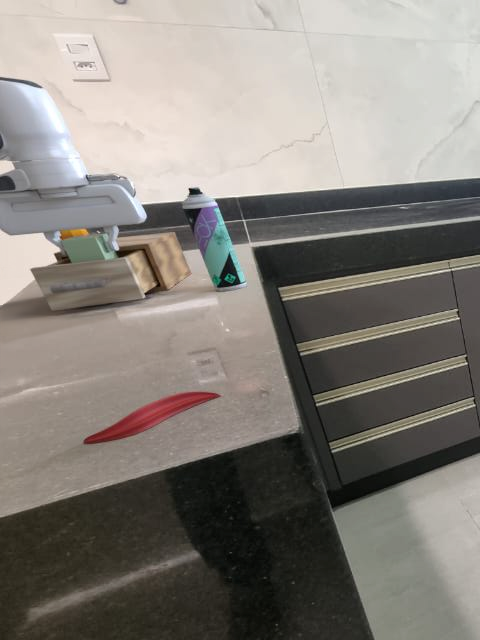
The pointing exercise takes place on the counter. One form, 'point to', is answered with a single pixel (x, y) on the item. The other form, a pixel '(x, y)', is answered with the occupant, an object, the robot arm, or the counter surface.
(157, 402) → the cayenne pepper
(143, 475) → the counter surface
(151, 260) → the cabinet
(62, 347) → the counter surface
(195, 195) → the spray can
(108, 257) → the block
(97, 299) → the drawer
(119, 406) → the counter surface
